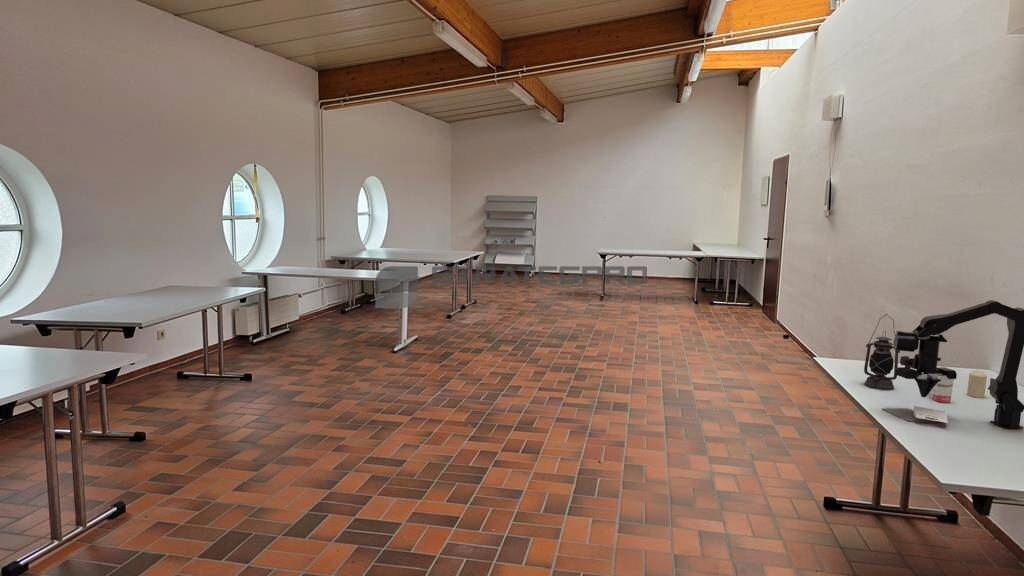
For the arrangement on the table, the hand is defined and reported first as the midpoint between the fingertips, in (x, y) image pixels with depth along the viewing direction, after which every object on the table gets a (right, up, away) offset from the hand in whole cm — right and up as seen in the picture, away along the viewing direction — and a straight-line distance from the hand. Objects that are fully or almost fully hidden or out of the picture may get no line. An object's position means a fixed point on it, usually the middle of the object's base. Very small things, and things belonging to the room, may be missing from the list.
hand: (923, 397), depth 216 cm
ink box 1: (+20, -5, +21) cm, 29 cm away
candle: (+38, -5, +27) cm, 47 cm away
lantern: (+6, -2, +36) cm, 37 cm away
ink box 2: (+2, -5, -1) cm, 5 cm away
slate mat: (-5, -6, 0) cm, 8 cm away
